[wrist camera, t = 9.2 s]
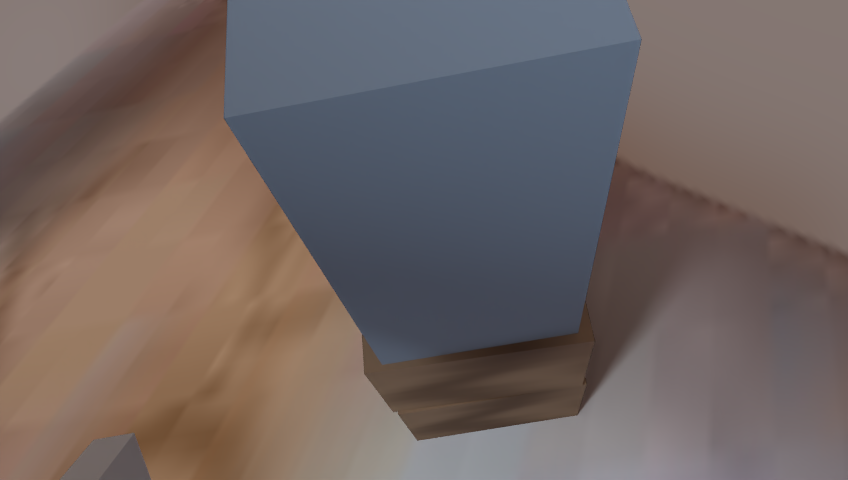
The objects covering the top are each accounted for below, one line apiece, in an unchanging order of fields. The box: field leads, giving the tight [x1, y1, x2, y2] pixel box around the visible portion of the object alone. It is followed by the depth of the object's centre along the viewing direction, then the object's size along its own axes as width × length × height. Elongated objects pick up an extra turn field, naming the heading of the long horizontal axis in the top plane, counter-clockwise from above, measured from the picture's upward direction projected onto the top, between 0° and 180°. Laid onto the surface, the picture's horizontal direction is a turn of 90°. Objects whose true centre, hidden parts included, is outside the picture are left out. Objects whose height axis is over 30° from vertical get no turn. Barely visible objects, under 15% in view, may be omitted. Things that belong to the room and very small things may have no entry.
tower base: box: [398, 378, 587, 441], centre depth 28 cm, size 7×7×5 cm
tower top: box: [362, 301, 595, 412], centre depth 23 cm, size 7×7×5 cm
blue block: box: [224, 0, 642, 365], centre depth 16 cm, size 6×6×12 cm
